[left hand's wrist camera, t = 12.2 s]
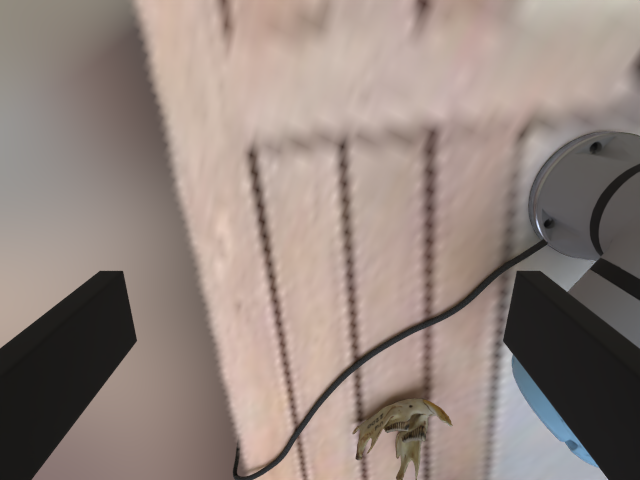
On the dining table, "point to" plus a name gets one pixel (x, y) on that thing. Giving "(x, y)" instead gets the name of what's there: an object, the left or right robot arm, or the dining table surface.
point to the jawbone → (401, 429)
